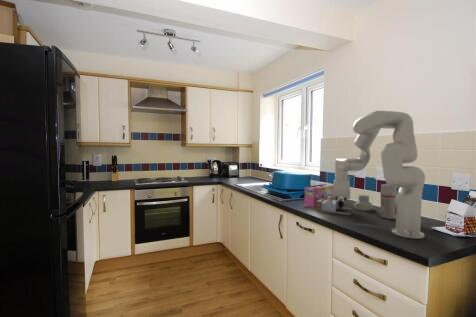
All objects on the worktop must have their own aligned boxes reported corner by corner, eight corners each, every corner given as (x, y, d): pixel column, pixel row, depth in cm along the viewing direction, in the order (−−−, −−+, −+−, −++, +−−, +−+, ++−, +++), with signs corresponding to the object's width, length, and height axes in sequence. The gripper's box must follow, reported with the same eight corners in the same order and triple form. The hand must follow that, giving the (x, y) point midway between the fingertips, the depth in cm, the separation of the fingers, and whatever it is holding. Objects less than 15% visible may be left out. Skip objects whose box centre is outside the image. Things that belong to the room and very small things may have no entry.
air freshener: (375, 211, 160) (375, 195, 160) (369, 213, 155) (369, 197, 155) (358, 208, 169) (358, 193, 168) (351, 210, 164) (352, 194, 163)
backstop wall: (320, 211, 154) (320, 201, 154) (316, 211, 155) (316, 201, 155) (324, 206, 168) (324, 197, 167) (320, 206, 169) (320, 197, 168)
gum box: (325, 202, 187) (325, 183, 186) (334, 204, 180) (335, 185, 180) (304, 206, 172) (304, 186, 172) (313, 208, 166) (314, 188, 165)
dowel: (331, 212, 154) (331, 197, 153) (326, 211, 155) (326, 196, 155) (332, 211, 156) (332, 196, 156) (327, 210, 158) (327, 195, 158)
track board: (350, 216, 147) (350, 213, 147) (316, 212, 155) (316, 209, 155) (351, 211, 160) (351, 208, 160) (320, 207, 169) (320, 204, 169)
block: (334, 212, 152) (335, 204, 152) (321, 211, 156) (321, 202, 155) (337, 208, 163) (337, 200, 162) (324, 207, 166) (324, 199, 166)
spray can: (392, 220, 141) (393, 184, 140) (377, 216, 147) (378, 182, 147) (399, 218, 145) (400, 183, 144) (384, 214, 152) (385, 181, 151)
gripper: (354, 178, 158) (354, 207, 159) (329, 177, 165) (329, 205, 166) (354, 179, 152) (353, 210, 152) (327, 178, 159) (327, 207, 159)
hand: (340, 207), depth 159 cm, fingers closed
